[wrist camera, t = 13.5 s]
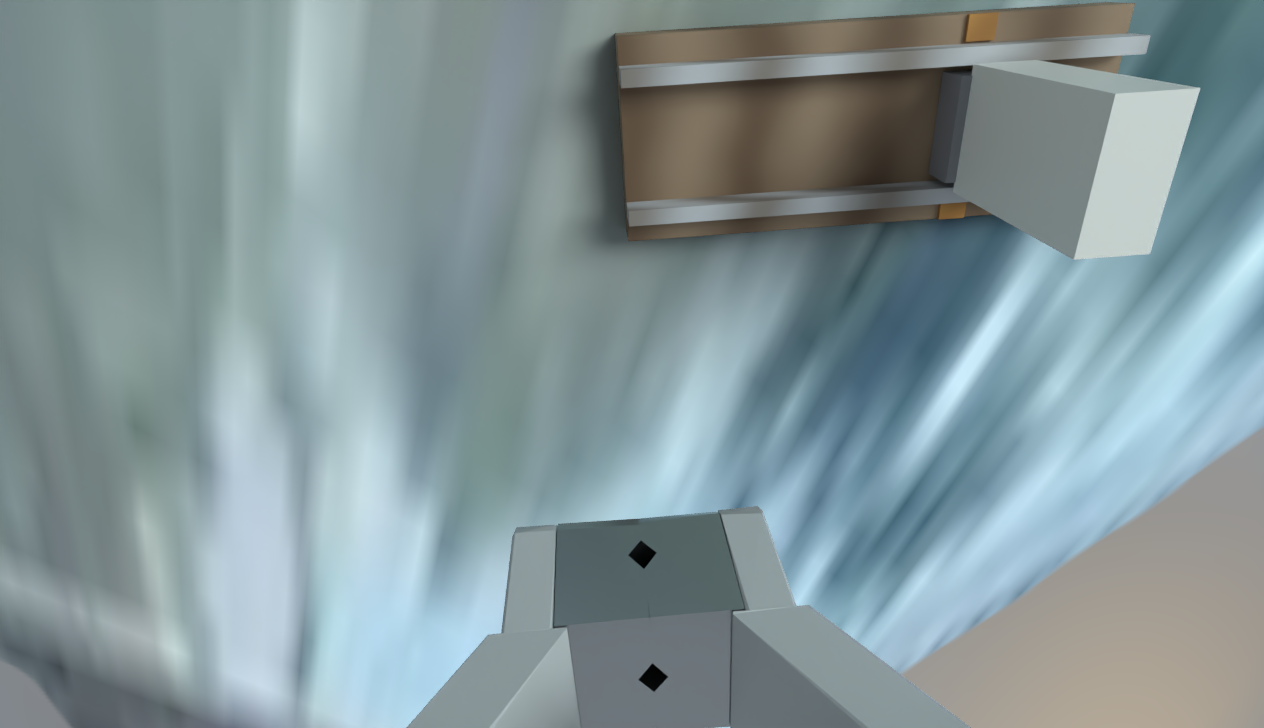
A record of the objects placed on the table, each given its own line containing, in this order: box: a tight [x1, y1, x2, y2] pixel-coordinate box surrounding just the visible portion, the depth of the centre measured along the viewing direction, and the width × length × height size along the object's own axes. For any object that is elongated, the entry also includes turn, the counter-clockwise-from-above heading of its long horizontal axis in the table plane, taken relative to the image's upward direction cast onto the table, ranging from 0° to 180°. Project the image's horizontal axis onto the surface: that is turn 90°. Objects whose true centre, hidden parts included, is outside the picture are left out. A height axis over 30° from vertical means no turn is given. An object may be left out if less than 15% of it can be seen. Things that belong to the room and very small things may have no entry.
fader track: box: [615, 2, 1151, 241], centre depth 37 cm, size 25×10×4 cm, turn 93°
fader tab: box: [928, 60, 1200, 260], centre depth 31 cm, size 4×6×12 cm, turn 3°
